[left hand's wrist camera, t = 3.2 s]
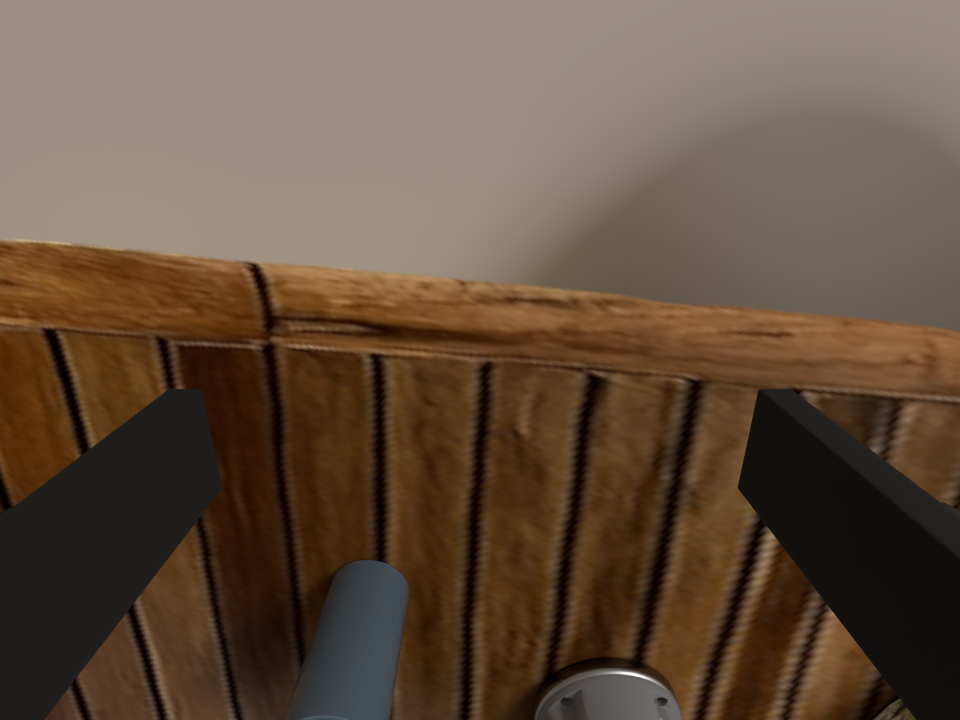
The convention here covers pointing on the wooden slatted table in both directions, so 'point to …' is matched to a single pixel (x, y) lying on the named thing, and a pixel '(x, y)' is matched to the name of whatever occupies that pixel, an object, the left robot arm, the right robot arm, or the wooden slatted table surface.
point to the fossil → (895, 712)
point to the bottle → (354, 647)
